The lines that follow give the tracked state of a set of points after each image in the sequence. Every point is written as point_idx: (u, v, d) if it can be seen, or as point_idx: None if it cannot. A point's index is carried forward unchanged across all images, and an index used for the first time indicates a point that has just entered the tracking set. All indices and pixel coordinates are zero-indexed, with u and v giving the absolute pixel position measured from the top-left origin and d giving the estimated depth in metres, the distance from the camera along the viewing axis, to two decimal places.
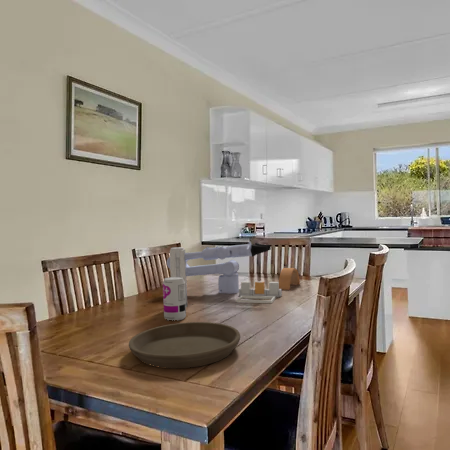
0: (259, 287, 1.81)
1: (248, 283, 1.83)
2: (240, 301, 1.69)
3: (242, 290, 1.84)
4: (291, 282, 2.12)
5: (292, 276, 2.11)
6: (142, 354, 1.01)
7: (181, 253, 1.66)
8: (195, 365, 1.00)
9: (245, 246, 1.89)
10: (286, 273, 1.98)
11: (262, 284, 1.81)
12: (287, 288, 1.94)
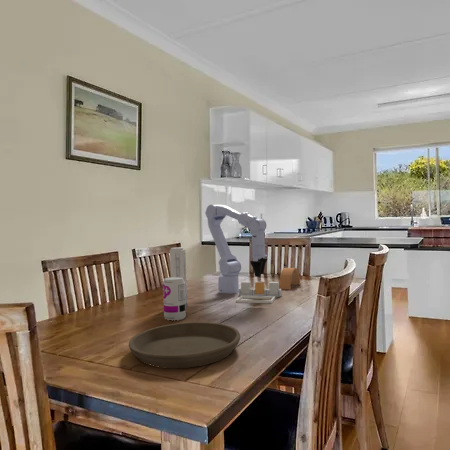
0: (259, 287, 1.81)
1: (248, 283, 1.83)
2: (240, 301, 1.69)
3: (242, 290, 1.84)
4: (291, 282, 2.12)
5: (292, 276, 2.11)
6: (142, 354, 1.01)
7: (181, 253, 1.66)
8: (195, 365, 1.00)
9: (262, 252, 1.80)
10: (287, 273, 1.98)
11: (262, 284, 1.81)
12: (288, 288, 1.94)
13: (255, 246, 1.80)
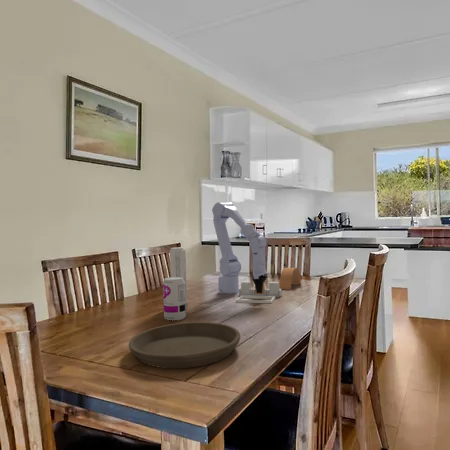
0: None
1: (248, 283, 1.83)
2: (240, 301, 1.69)
3: (242, 290, 1.84)
4: (292, 282, 2.13)
5: (293, 276, 2.11)
6: (142, 354, 1.01)
7: (181, 253, 1.66)
8: (195, 365, 1.00)
9: (262, 269, 1.80)
10: (287, 273, 1.98)
11: None
12: (288, 288, 1.94)
13: (256, 263, 1.80)
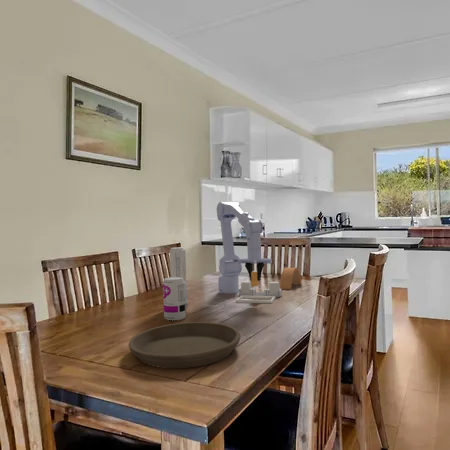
0: None
1: (248, 283, 1.83)
2: (240, 301, 1.69)
3: (242, 290, 1.84)
4: (292, 282, 2.13)
5: (293, 276, 2.11)
6: (142, 354, 1.01)
7: (181, 253, 1.66)
8: (195, 365, 1.00)
9: (248, 256, 1.70)
10: (288, 273, 1.99)
11: None
12: (289, 288, 1.95)
13: None
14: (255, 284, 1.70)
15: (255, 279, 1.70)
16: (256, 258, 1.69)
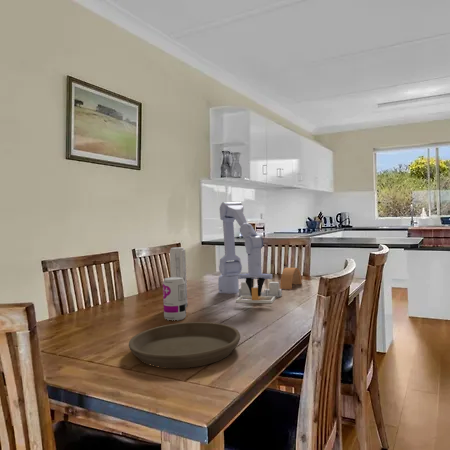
0: None
1: None
2: (240, 301, 1.69)
3: (242, 290, 1.84)
4: (293, 282, 2.13)
5: (294, 276, 2.12)
6: (142, 354, 1.01)
7: (181, 253, 1.66)
8: (195, 365, 1.00)
9: (249, 271, 1.70)
10: (288, 273, 1.99)
11: None
12: (289, 287, 1.95)
13: None
14: None
15: (256, 295, 1.70)
16: (257, 274, 1.69)
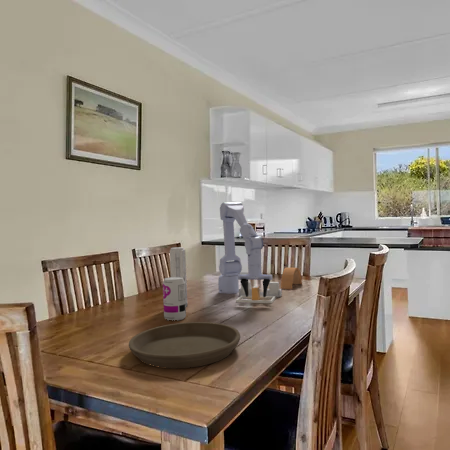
0: None
1: (248, 283, 1.83)
2: (240, 301, 1.69)
3: (242, 290, 1.84)
4: (293, 281, 2.14)
5: (294, 276, 2.12)
6: (142, 354, 1.01)
7: (181, 253, 1.66)
8: (195, 365, 1.00)
9: (249, 272, 1.70)
10: (289, 273, 1.99)
11: None
12: (289, 287, 1.95)
13: None
14: None
15: (256, 295, 1.70)
16: (257, 274, 1.69)
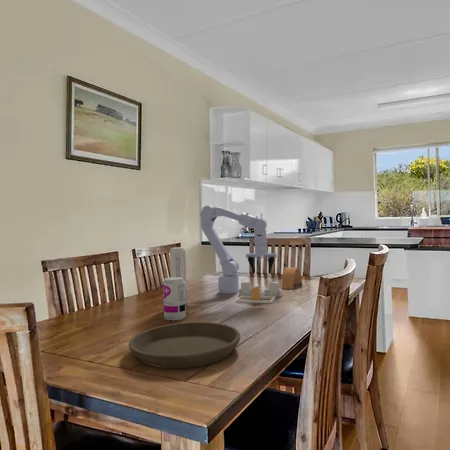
0: None
1: (248, 283, 1.83)
2: (240, 301, 1.69)
3: (242, 290, 1.84)
4: (293, 281, 2.14)
5: (294, 275, 2.12)
6: (142, 354, 1.01)
7: (181, 253, 1.66)
8: (195, 365, 1.00)
9: (255, 251, 1.88)
10: (290, 273, 1.99)
11: None
12: (291, 287, 1.96)
13: None
14: None
15: (256, 295, 1.70)
16: (262, 253, 1.86)
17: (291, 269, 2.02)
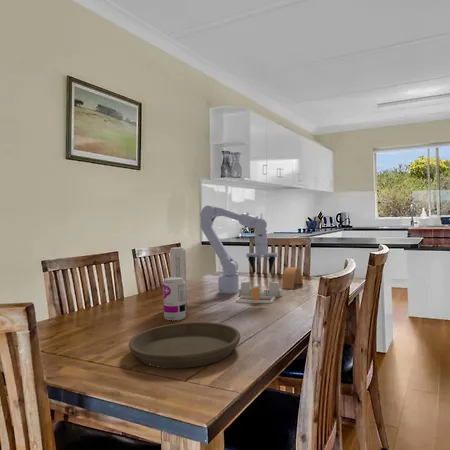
0: None
1: (248, 283, 1.83)
2: (240, 301, 1.69)
3: (242, 290, 1.84)
4: (294, 281, 2.14)
5: (295, 275, 2.13)
6: (142, 354, 1.01)
7: (181, 253, 1.66)
8: (195, 365, 1.00)
9: (256, 250, 1.89)
10: (290, 273, 2.00)
11: None
12: (291, 287, 1.96)
13: None
14: None
15: (256, 295, 1.70)
16: (263, 252, 1.88)
17: (291, 269, 2.02)
